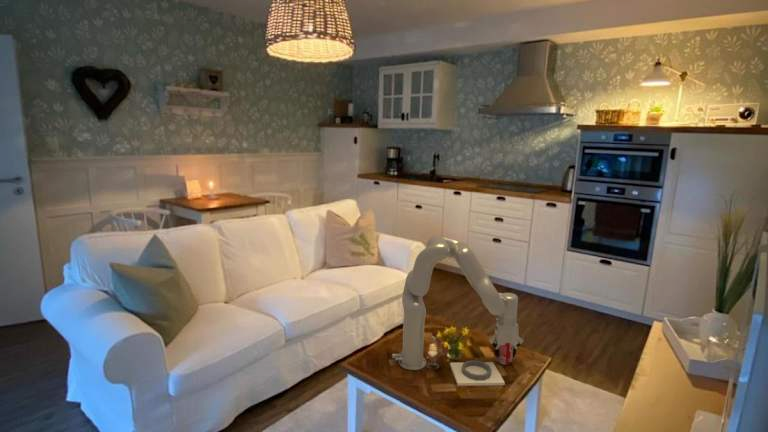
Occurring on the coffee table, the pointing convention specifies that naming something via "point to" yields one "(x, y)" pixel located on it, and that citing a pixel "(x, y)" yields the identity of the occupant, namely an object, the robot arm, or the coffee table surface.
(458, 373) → the collar board
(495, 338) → the robot arm
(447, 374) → the coffee table surface
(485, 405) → the coffee table surface
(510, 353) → the soda can
